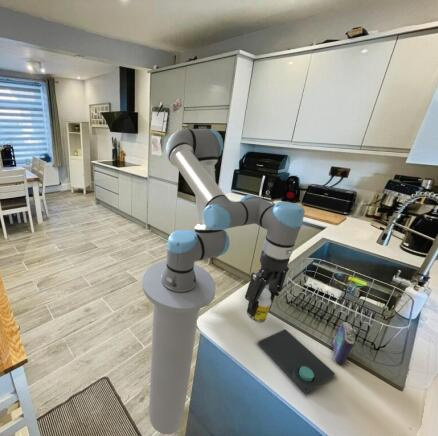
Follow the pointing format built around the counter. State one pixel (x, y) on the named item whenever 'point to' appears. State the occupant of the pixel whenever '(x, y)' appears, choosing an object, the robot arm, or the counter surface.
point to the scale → (295, 360)
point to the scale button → (306, 373)
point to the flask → (343, 343)
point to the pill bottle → (262, 307)
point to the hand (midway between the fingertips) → (258, 310)
